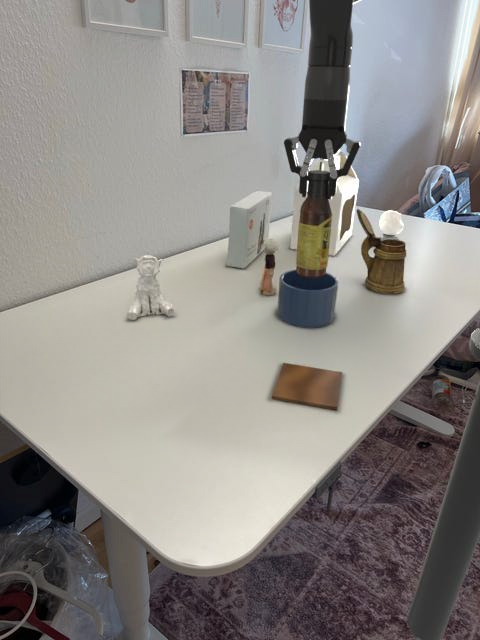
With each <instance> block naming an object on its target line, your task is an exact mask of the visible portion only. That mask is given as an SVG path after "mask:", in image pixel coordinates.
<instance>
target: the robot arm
mask: <svg viewBox="0 0 480 640" xmlns="http://www.w3.org/2000/svg"><path fill="white" fill-rule="evenodd" d="M358 2H361V0H308V7H309V8H308V9H309V25H310V37H309V38H310V39H309V45H308V56H307V57H308V59H307V70H306V76H305V81H304V93H303V94H304V95H303V107H302V120H301V122H302V123H301V129H300V131H299V133H298V135H297V136H294V137H287V138H286V139H284V141H283V145H284V149H285V153H286V157H287V162H288V165H289V169H290V172H291V173H292V174H293V173H295V174H296V175H298V176H299V183H300V184H299V183H298V184H299V193H300V194H302V197H307V192H308V171H309V170H310V169H311V166H312V163H313V160H316V159H320V158H322V159H328V165H329V169H330V175H331V176H330V178H329V184H328V194H327V199H331V198H332V196H334V195H335V193H336V187H337V179H338V178H339V177H341V176H346V175H347V174H348V172H349V170H350V167H352V165H353V163H354V161H355V158H356V156H357V154H358V152H359V151H360V147H361V142H360V141H358V140H353V139H352V138H349V137H348V135H347V133H346V123H347V114H348V107H349V106H348V105H349V96H350V92H351V91H350V90H351V89H350V87H351V63H352V56H353V55H352V53H353V45H354V44H353V42H354V35H353V29H352V15H353V8H354V7H353V6H354V4H356V3H358ZM299 143H300V145H301V147H302V148H303V150H304V152H305V156H304V159H303V161H302V162H303V163H302V166H301V165H299V161H298V157H297V153H296V150H297V149H298V146H299V145H298V144H299ZM344 145H345V146H346V153H348V156H346V157H347V160H346V162H345V164H344V166H343V168H340V169H338V166H337V158H336V153H337V152H338V151H339V150H340V151H341V149H342V147H344Z"/></svg>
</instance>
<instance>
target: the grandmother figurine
mask: <svg viewBox="0 0 480 640" xmlns="http://www.w3.org/2000/svg"><path fill="white" fill-rule="evenodd" d="M279 250H280V246H279V244H278V241H276V240H274V239H273V238H268V239H267V240H266V241H265V248H264V250H263V251H264V253H265V257H264V262H265V263H264V268H263V272H262V276H261V280H260V285H259V290H260V291H262V294H263V295H264V296H273V295H275V291H274V276H275V269H276V257H275V252H278V251H279Z"/></svg>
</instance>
